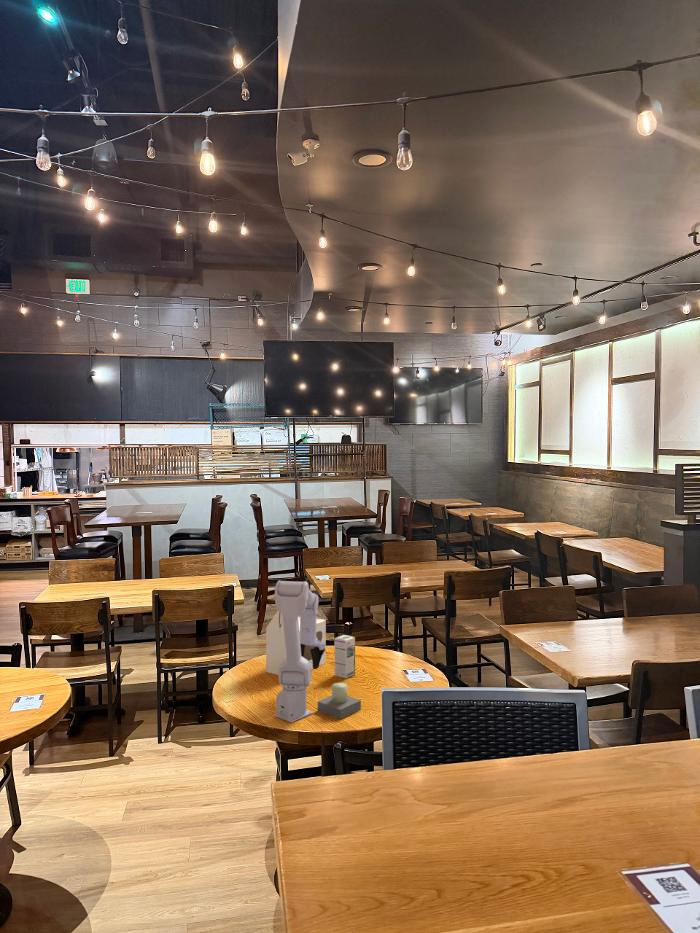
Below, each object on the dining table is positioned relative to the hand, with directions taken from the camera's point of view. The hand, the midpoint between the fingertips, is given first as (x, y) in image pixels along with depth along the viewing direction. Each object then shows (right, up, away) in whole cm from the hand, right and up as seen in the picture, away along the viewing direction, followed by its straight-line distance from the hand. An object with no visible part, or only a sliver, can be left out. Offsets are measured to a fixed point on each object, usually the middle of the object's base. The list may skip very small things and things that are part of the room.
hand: (308, 665), depth 216 cm
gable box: (-6, -10, +26) cm, 29 cm away
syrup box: (+13, -10, +18) cm, 24 cm away
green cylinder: (+11, -7, -15) cm, 20 cm away
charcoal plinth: (+11, -10, -15) cm, 21 cm away
